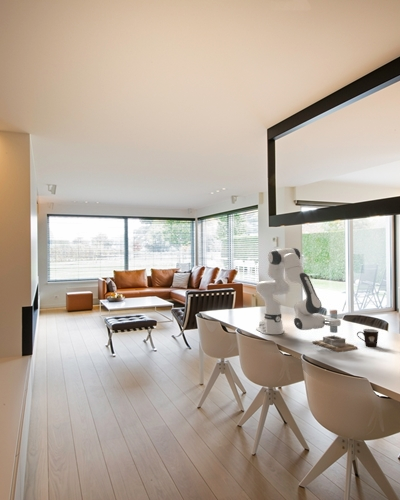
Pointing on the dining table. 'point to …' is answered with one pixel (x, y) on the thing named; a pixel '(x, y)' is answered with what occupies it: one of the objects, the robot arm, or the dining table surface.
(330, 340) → the assembly jig
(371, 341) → the coffee mug
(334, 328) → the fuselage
